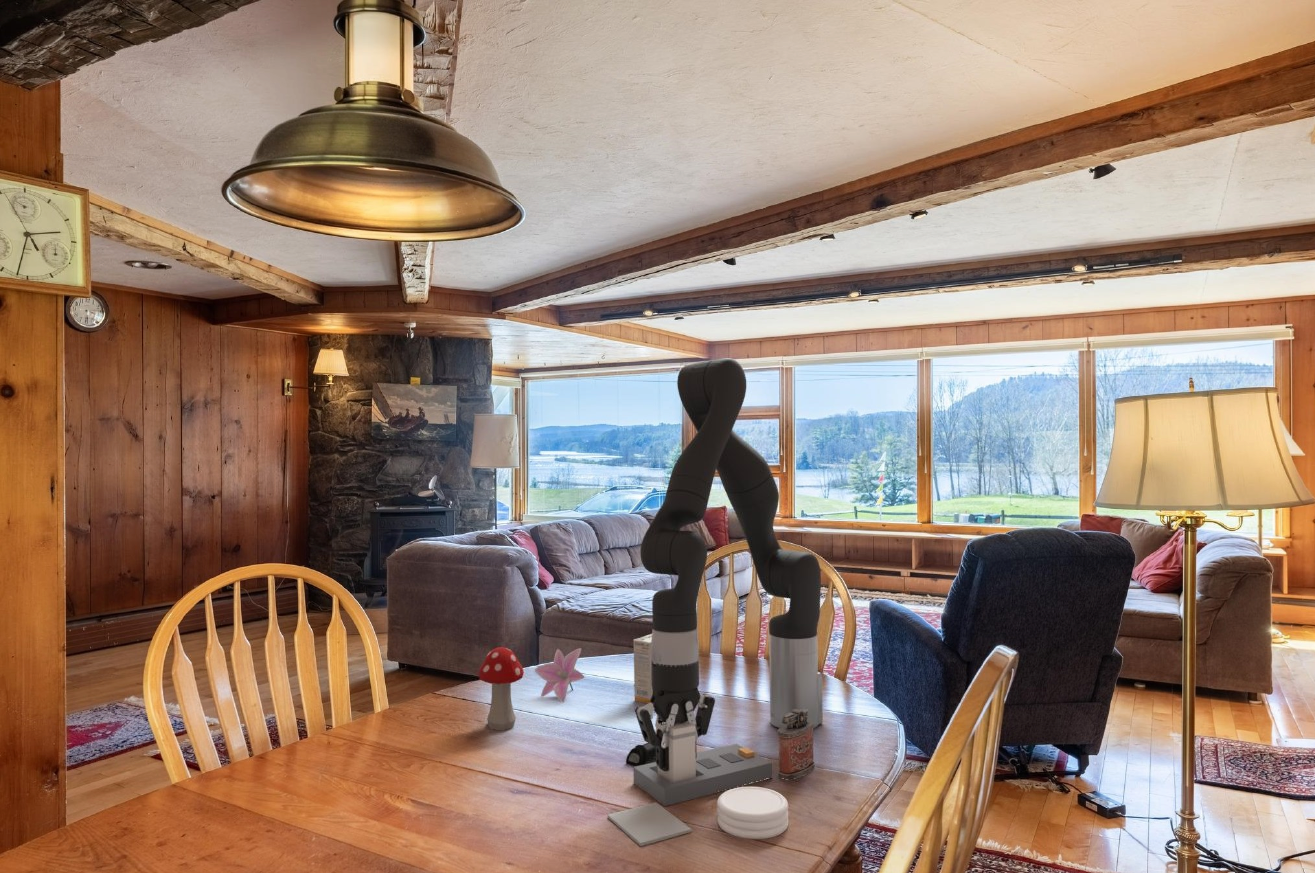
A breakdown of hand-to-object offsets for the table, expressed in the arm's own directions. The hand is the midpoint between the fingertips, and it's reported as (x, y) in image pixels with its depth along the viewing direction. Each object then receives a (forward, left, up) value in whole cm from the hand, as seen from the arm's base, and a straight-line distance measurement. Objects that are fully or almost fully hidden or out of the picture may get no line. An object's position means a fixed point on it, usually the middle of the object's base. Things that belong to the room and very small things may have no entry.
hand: (676, 765), depth 127 cm
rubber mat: (+10, +9, -3) cm, 14 cm away
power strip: (-5, 0, -3) cm, 6 cm away
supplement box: (-20, -43, -4) cm, 47 cm away
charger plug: (0, 0, -3) cm, 3 cm away
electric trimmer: (-5, -14, -4) cm, 16 cm away
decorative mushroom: (+14, -43, -4) cm, 45 cm away
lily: (-4, -55, -4) cm, 56 cm away
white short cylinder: (-3, +16, -4) cm, 17 cm away
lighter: (-20, +5, -4) cm, 21 cm away
